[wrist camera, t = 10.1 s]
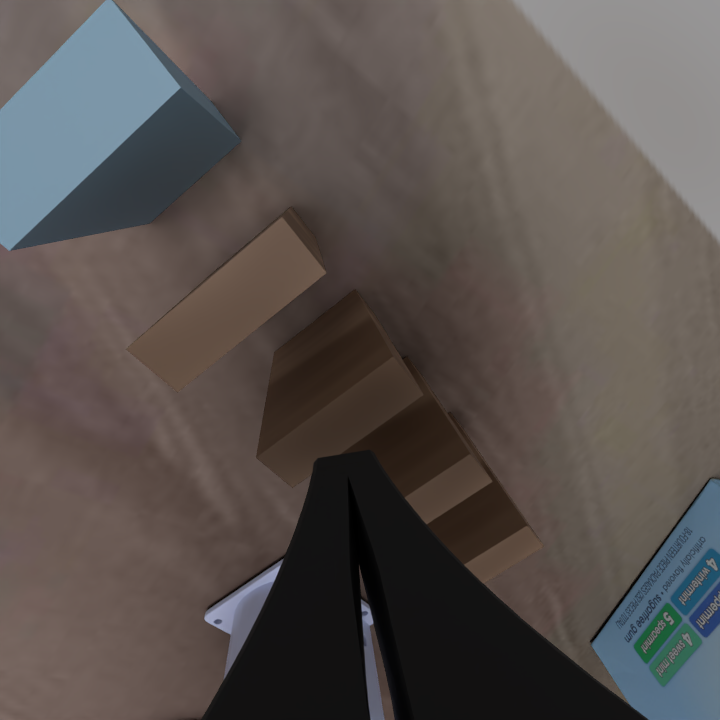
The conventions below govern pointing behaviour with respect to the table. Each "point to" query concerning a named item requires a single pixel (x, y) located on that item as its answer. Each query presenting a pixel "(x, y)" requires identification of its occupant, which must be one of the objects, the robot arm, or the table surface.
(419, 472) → the walnut domino
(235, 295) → the walnut domino
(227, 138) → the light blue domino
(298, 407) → the walnut domino
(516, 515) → the walnut domino
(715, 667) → the light blue carton box
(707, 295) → the table surface
